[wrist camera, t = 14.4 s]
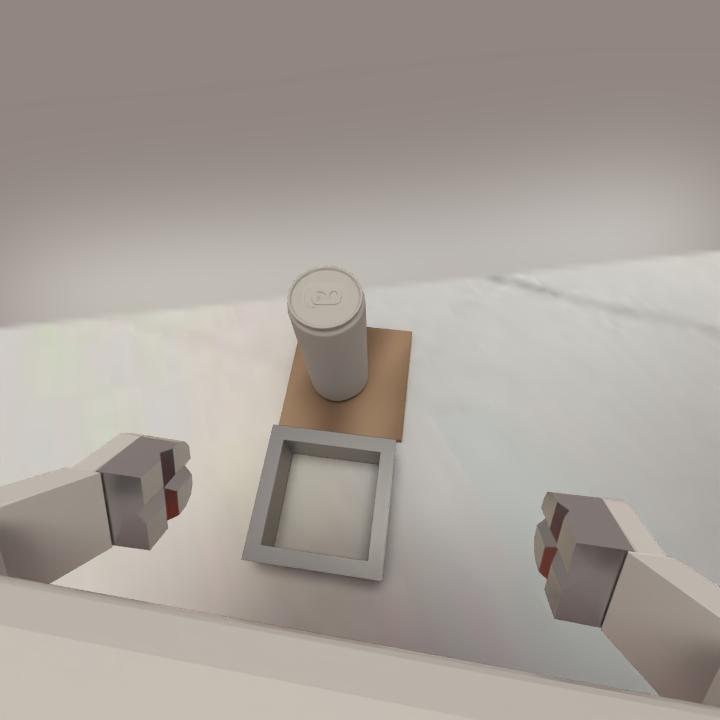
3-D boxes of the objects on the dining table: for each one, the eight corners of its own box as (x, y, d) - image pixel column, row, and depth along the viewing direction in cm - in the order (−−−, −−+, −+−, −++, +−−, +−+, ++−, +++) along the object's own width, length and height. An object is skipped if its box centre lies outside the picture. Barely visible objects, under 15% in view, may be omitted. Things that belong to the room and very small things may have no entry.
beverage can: (313, 352, 37) (288, 264, 26) (368, 351, 37) (365, 263, 26) (310, 404, 35) (281, 331, 24) (368, 403, 35) (365, 329, 24)
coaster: (411, 335, 38) (411, 331, 38) (401, 442, 34) (401, 440, 33) (303, 324, 39) (302, 320, 39) (280, 427, 35) (278, 424, 34)
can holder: (393, 453, 34) (396, 439, 30) (381, 579, 30) (381, 581, 26) (283, 439, 34) (273, 424, 31) (256, 560, 30) (241, 559, 27)
